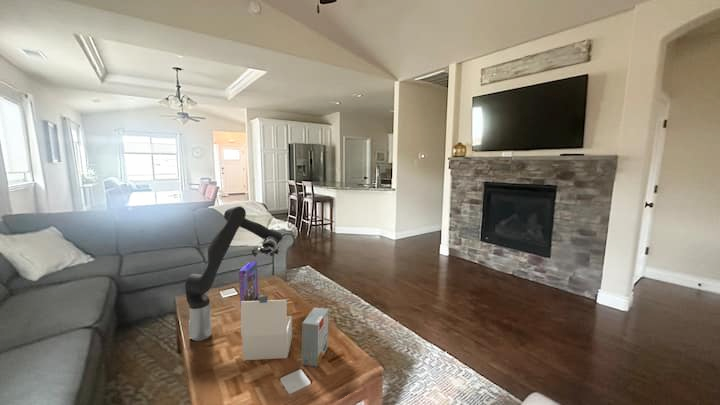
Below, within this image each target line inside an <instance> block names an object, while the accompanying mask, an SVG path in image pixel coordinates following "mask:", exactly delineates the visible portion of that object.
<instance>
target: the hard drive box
mask: <svg viewBox="0 0 720 405" xmlns="http://www.w3.org/2000/svg"><path fill="white" fill-rule="evenodd" d="M301 326H302V327H301V328H302V329H301V337H302V338H301V365H306V366H311V367H316V368H317V367H318V366H319V365H320V363H321V361H322V360H323V359H322V358H323V356H324V355H325V353H326V350H327V349H328V346H329V308H323V307H313V309H311V311H310V312H309V313H308V315H307V316H306V318H305V319H304V320H303V321H302V324H301Z"/></svg>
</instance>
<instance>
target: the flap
mask: <svg viewBox="0 0 720 405" xmlns="http://www.w3.org/2000/svg"><path fill="white" fill-rule="evenodd" d="M287 309H288V308H287V299H275V300H274V299H272V300H269V295H267V294H266V295H265V294H264V295H259V294H258V296H257V300H254V301H241V307H240V324H241V325H240V328H241V329H240V330H241V335H240V336H241V338H242V337H246V336H268V335H287V316H288V311H287Z"/></svg>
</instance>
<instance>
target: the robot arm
mask: <svg viewBox="0 0 720 405" xmlns="http://www.w3.org/2000/svg"><path fill="white" fill-rule="evenodd" d="M246 215H247V211H246V209H245V208H244V207H243V206H241V205H240V206H239V205H238V206H237V205H236V206H233V207H231V208H228V209H226V210H225V211H224V216H223V217H224V219H225V221H226V223H225V225H224V227H222V228H221V230H220V231H219V232H217V234H216V235H215V236H214V238H213V239H212V241H211V243H210V244H209V246H208V248H207V265H206V268H205V270H204V272H203V274H202V273H201V274H200V273H191V274H190V275H188V277H187V278H186V280H185V285H184V286H185V297H186V298H185V299H186V302H187V304H188V308H189V311H188V312H189V321H188V323H187V324H188V338H189V339H188V340H190V339H192V341H193V340H194V341H195V342H200V341H203V340H204V341H205V340H206V339H209V338H210V337H211V336H212V320H211V304H210V302H211V301H210V297H209V296H207V293H208V292H209V291H210V290H211V288H212V286H213V283H214V282H215V279H216V276H217V273H218V271H219V268H220V266H221V264H222V261H223V260H224V258H225V256H226V254H227V252H228V249H229V248H230V246H231V243H232V241H233V240H234V238H235V235H236V233H237V231H238V230H239V228H242V229H244V230H246V231H248V232H250V233H252V234H254V235H255V236H258V237H259V238H261V239H263V240H265V241H264V243H262V245H261V247H259V248H258V247H257V246H256V247H254V248H252V250H251V254H252V255H253V256H254V257H257V256H258V255H262V254H264V255H268V256H269V255H270V257H273V256H274V255H278V254H279V252H280V247H279V246H278V244H279V243H280V242H281V241H282V240H283V239H284V238H283V235H282V233H280V232H279V231H277V230H273V229H270V228H267V227H266V226H264V225H263V224H262V223H259V222H255V221H253V220H249V219H247V218H246V217H247V216H246Z"/></svg>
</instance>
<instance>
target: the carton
mask: <svg viewBox="0 0 720 405" xmlns="http://www.w3.org/2000/svg"><path fill="white" fill-rule="evenodd" d="M292 318H293V316H292V315H287V335H268V336H246V337H241V342H242V343H241V347H242V360H243V361H252V360H256V361H257V360H273V359H274V360H275V359H276V360H277V359H288V357H289V353H290V348H291V344H292V340H293V320H292Z"/></svg>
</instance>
